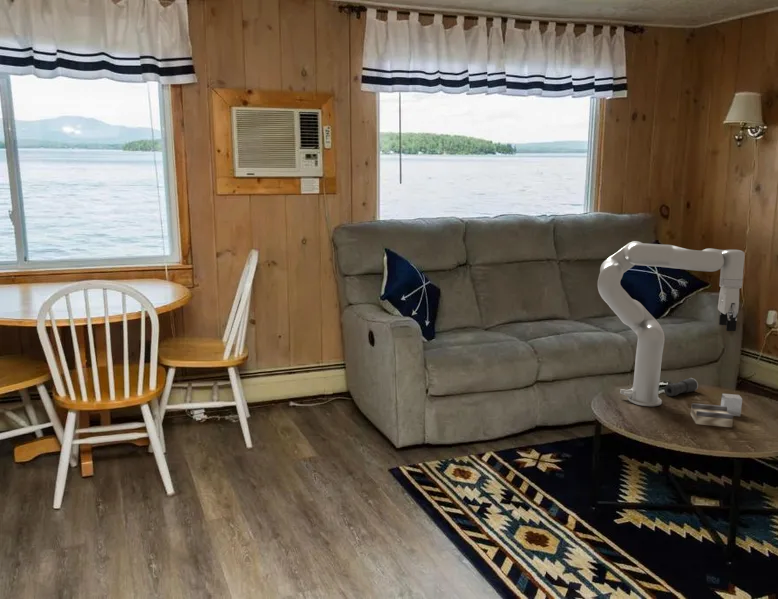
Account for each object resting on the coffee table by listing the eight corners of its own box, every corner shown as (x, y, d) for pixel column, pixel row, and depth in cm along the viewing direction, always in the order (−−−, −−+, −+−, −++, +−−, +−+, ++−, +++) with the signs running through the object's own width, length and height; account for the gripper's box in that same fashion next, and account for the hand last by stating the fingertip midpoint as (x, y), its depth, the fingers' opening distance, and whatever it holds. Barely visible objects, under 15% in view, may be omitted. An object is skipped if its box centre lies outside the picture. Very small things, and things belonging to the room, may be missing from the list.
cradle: (696, 424, 245) (697, 412, 244) (690, 414, 255) (691, 403, 254) (732, 427, 243) (733, 415, 242) (724, 417, 252) (726, 405, 252)
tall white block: (723, 415, 255) (725, 397, 254) (720, 410, 259) (722, 393, 258) (741, 416, 254) (743, 398, 252) (737, 412, 258) (739, 394, 257)
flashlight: (673, 398, 273) (675, 386, 272) (662, 394, 277) (663, 382, 276) (697, 392, 281) (698, 380, 280) (685, 388, 285) (687, 376, 284)
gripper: (714, 279, 261) (710, 322, 264) (726, 286, 244) (722, 332, 247) (735, 279, 259) (731, 323, 262) (749, 287, 242) (744, 333, 246)
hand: (727, 327), depth 255 cm, fingers open, 9 cm apart
